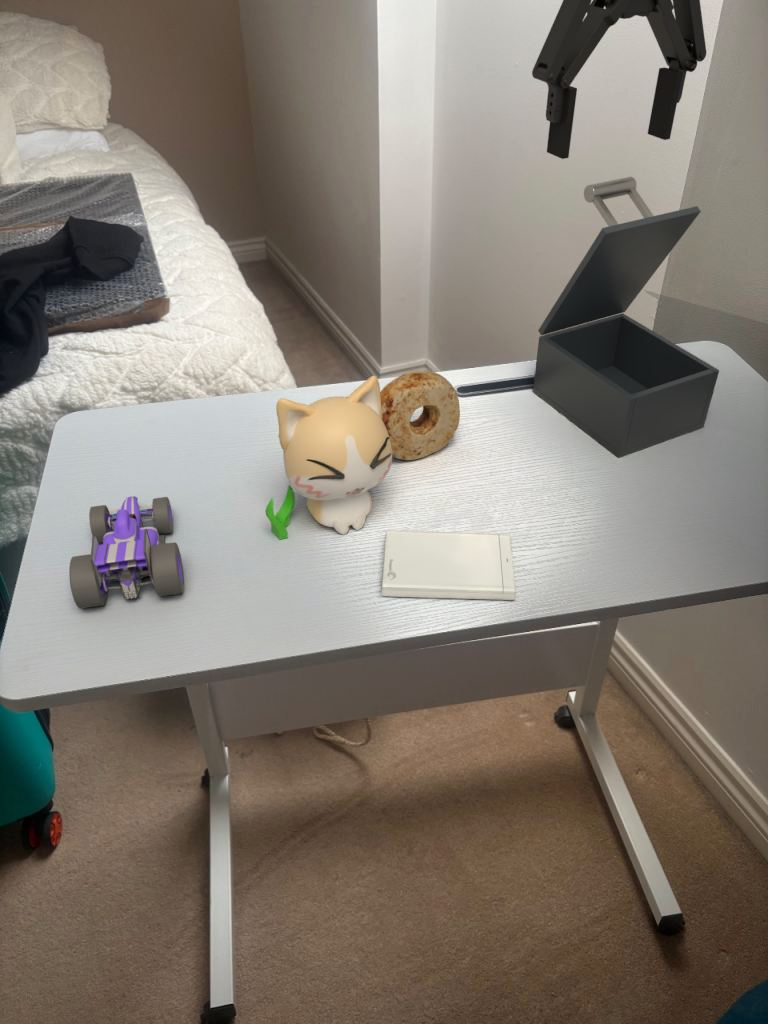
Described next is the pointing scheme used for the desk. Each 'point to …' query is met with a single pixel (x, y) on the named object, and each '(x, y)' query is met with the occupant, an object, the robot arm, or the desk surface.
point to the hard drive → (448, 565)
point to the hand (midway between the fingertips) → (609, 145)
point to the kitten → (333, 457)
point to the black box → (623, 383)
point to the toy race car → (127, 553)
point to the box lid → (617, 258)
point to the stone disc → (432, 423)
